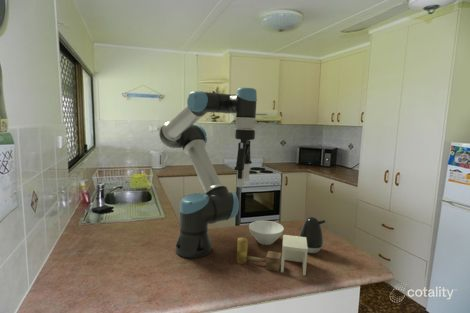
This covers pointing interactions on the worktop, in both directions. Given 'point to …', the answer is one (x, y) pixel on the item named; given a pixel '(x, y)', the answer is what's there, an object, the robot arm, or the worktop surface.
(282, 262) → the cream u-shaped stand
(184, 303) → the worktop surface
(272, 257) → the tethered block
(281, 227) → the bowl
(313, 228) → the pump dispenser
